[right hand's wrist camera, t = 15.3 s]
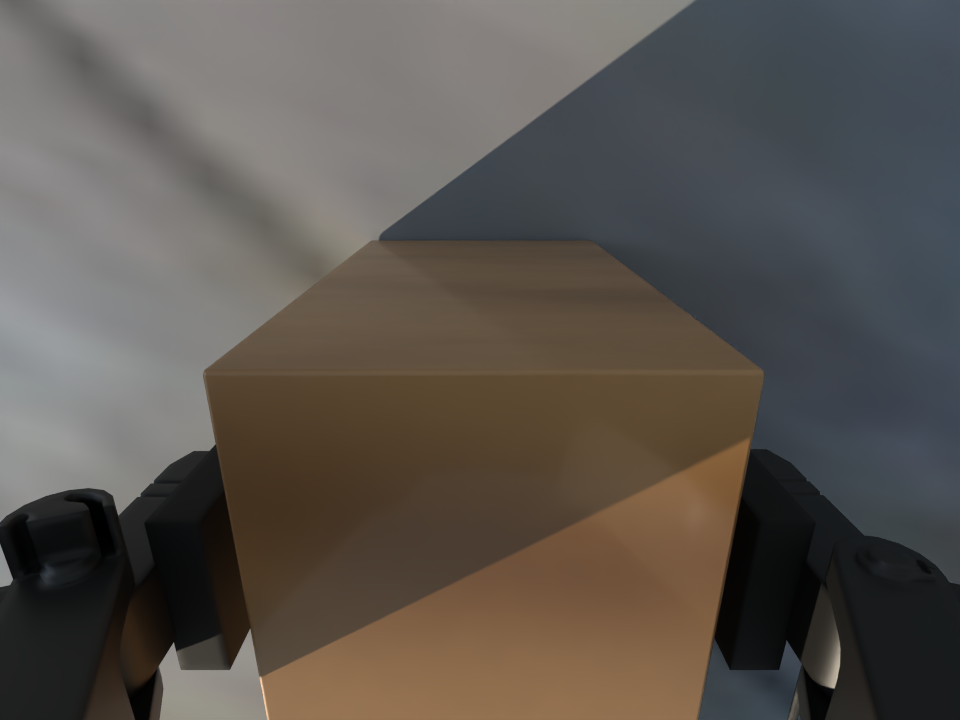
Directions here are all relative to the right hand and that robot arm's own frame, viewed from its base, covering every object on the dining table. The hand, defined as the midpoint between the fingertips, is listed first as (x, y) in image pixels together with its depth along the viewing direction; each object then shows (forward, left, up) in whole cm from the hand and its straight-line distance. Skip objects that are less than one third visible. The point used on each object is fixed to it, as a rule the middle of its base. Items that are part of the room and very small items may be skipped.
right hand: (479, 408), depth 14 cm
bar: (+9, +3, -2) cm, 10 cm away
